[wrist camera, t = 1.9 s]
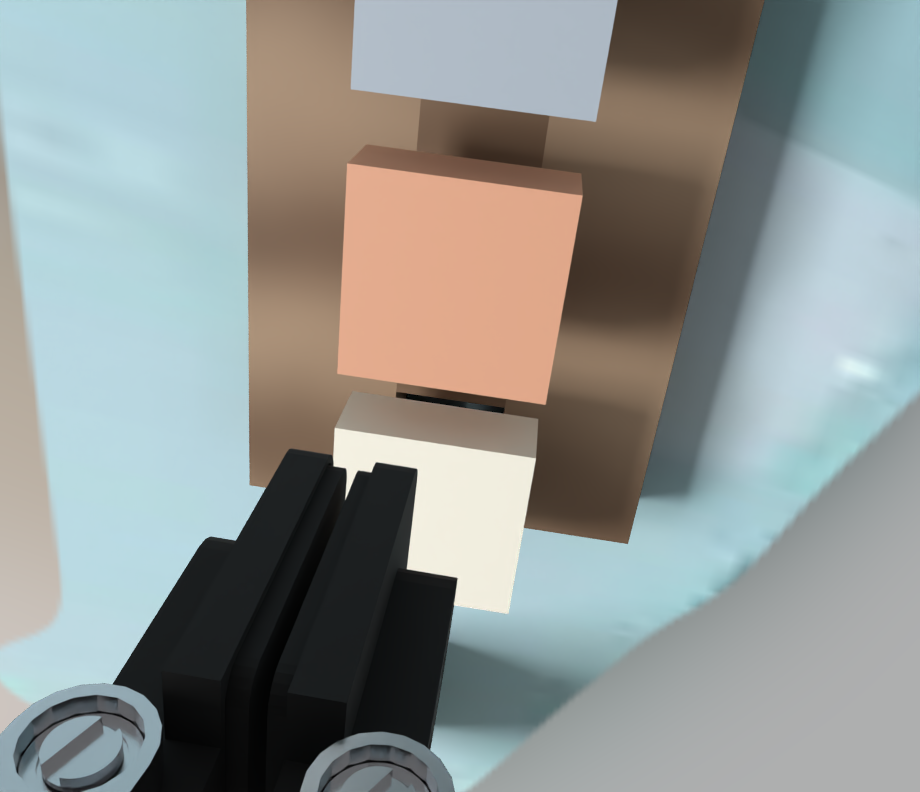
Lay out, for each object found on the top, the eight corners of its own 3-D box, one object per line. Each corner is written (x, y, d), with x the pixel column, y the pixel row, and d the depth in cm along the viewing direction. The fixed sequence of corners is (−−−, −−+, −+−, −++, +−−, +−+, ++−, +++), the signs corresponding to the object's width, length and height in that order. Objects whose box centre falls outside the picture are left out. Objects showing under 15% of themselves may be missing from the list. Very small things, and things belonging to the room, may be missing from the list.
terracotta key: (386, 124, 22) (346, 163, 18) (579, 150, 22) (582, 195, 18) (374, 304, 25) (337, 373, 21) (549, 330, 24) (545, 404, 20)
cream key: (371, 352, 25) (334, 427, 21) (540, 377, 25) (535, 458, 21) (361, 492, 28) (327, 584, 24) (516, 517, 27) (508, 614, 23)
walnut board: (278, -183, 21) (244, -197, 19) (772, -124, 20) (797, -132, 18) (273, 444, 29) (249, 485, 27) (623, 498, 29) (628, 543, 27)
